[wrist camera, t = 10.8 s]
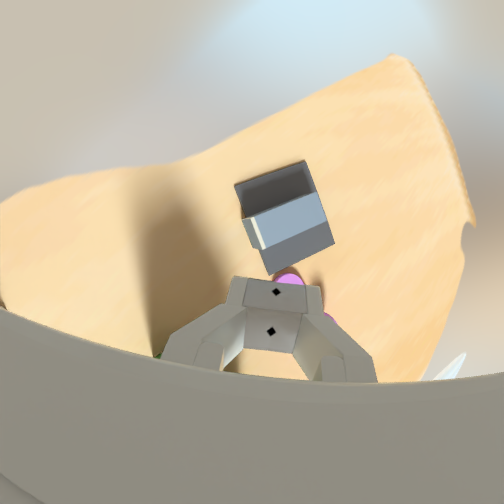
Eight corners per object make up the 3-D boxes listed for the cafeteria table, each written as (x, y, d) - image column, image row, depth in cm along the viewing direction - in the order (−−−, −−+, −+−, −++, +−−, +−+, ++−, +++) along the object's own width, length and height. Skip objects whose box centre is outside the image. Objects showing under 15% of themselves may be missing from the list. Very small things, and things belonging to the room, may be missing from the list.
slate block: (262, 249, 44) (327, 220, 47) (250, 218, 43) (316, 191, 46) (252, 248, 49) (312, 221, 52) (241, 219, 48) (302, 194, 51)
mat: (268, 275, 51) (269, 275, 50) (234, 186, 48) (234, 186, 48) (333, 243, 54) (335, 243, 54) (304, 161, 51) (305, 161, 51)
